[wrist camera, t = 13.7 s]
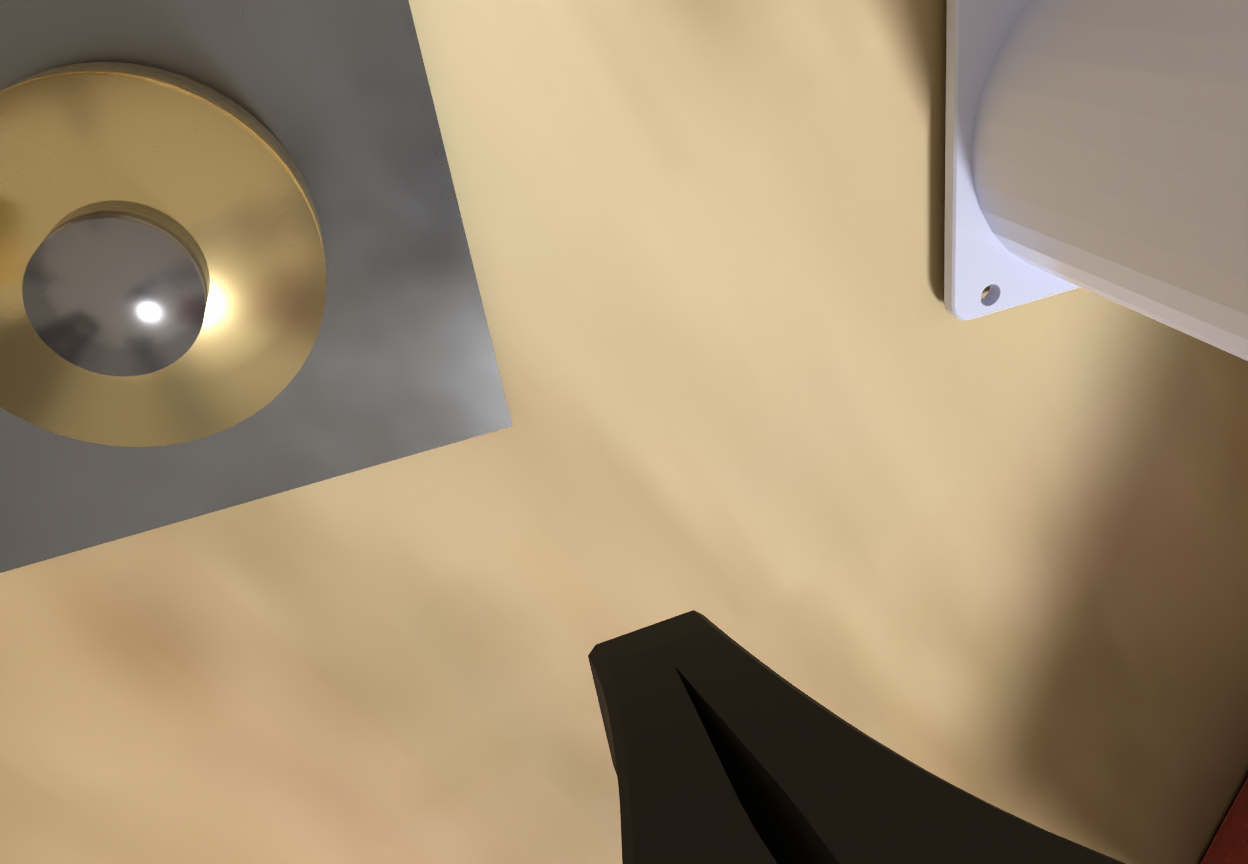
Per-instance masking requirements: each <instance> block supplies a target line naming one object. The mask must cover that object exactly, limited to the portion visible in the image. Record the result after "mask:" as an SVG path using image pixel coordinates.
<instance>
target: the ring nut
mask: <svg viewBox="0 0 1248 864" xmlns="http://www.w3.org/2000/svg"><path fill="white" fill-rule="evenodd" d="M326 288H327V285H326V264H325V256H324V249H323V241H322V235H321V229H320V224H319V218H318V214H317V211H316V208H315V205H314V202H313V199H312V196H311V193H310V191H309V189H308V187H307V185H306V183H305V181H304V179H303V177H302V175H301V173H300V171H299V170H298V168H297V167H296V165H295V163H294V162H293V160H292V159H291V157H290V156H289V154H288V153H287V151H286V150H285V149H284V148H283V147H282V145H281V144H280V143H279V142H278V141H277V139H276V138H275V137H274V136H273V135H272V134H271V133H270V132H269V131H268V130H267V129H266V128H265V127H264V126H263V125H262V124H261V123H260V122H259V121H258V120H257V119H256V118H255V117H254V116H252V115H251V114H250V113H248V112H247V111H246V110H244V109H243V108H242V107H240V106H239V105H238V104H236V103H235V102H234V101H232V100H230V99H229V98H227V97H225V96H224V95H222V94H220V93H218V92H217V91H215V90H213V89H212V88H210V87H208V86H206V85H203V84H201V83H199V82H196V81H194V80H192V79H190V78H187V77H185V76H182V75H179V74H176V73H172V72H169V71H166V70H162V69H159V68H154V67H149V66H143V65H138V64H132V63H118V62H91V63H77V64H72V65H67V66H62V67H57V68H52V69H48V70H46V71H43V72H40V73H37V74H34V75H32V76H29V77H26V78H24V79H22V80H20V81H18V82H16V83H14V84H13V85H11V86H9V87H7V88H5V89H3V90H1V91H0V407H2V408H3V409H5V410H6V411H8V412H9V413H11V414H13V415H15V416H17V417H19V418H21V419H23V420H25V421H27V422H29V423H31V424H33V425H35V426H38V427H40V428H43V429H46V430H48V431H51V432H54V433H56V434H59V435H62V436H66V437H70V438H74V439H77V440H81V441H85V442H91V443H97V444H103V445H110V446H124V447H151V446H165V445H171V444H178V443H184V442H189V441H192V440H196V439H200V438H203V437H207V436H210V435H213V434H215V433H218V432H220V431H223V430H225V429H228V428H230V427H232V426H234V425H236V424H238V423H240V422H241V421H243V420H245V419H247V418H249V417H250V416H252V415H254V414H255V413H256V412H258V411H259V410H260V409H262V408H263V407H264V406H266V405H267V404H269V403H270V402H271V401H272V400H273V399H274V398H275V397H276V396H277V395H278V394H279V393H280V392H281V391H283V390H284V389H285V388H286V387H287V385H288V384H289V383H290V382H291V380H292V379H293V378H294V377H295V375H296V374H297V373H298V371H299V370H300V369H301V367H302V365H303V364H304V362H305V360H306V358H307V357H308V355H309V353H310V352H311V350H312V347H313V345H314V342H315V340H316V337H317V335H318V332H319V329H320V325H321V321H322V317H323V313H324V308H325V298H326Z"/></svg>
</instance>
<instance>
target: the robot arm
mask: <svg viewBox="0 0 1248 864" xmlns="http://www.w3.org/2000/svg"><path fill="white" fill-rule="evenodd" d="M989 285H990V289H989V293H988V294H987V295H986V297H985V298H983V299H980V298H981V294H982V292H983V290H984V289H985V288H986V287H987V286H989ZM1080 287H1081V288H1084V289H1086V290H1088V291H1090V292H1093V293H1095V294H1097V295H1099V296H1102V297H1104V298H1106V299H1108V300H1111V301H1113V302H1115V303H1117V304H1120V305H1122V306H1124V307H1126V308H1129V309H1131V310H1133V311H1136V312H1138V313H1140V314H1142V315H1145V316H1147V317H1149V318H1151V319H1154V320H1156V321H1158V322H1160V323H1163V324H1165V325H1167V326H1169V327H1172V328H1174V329H1176V330H1178V331H1181V332H1183V333H1185V334H1188V335H1190V336H1192V337H1194V338H1197V339H1199V340H1201V341H1203V342H1206V343H1208V344H1210V345H1212V346H1215V347H1217V348H1219V349H1221V350H1224V351H1226V352H1228V353H1230V354H1233V355H1235V356H1237V357H1240V358H1242V359H1244V360H1246V361H1248V0H947V31H946V142H945V252H944V304H945V308H946V310H947V311H948V312H949V314H951V315H953V316H955V317H956V318H959V319H961V320H970V319H974V318H977V317H981V316H984V315H988V314H991V313H994V312H998V311H1001V310H1005V309H1008V308H1012V307H1015V306H1018V305H1022V304H1025V303H1029V302H1032V301H1036V300H1039V299H1042V298H1046V297H1049V296H1053V295H1056V294H1059V293H1063V292H1066V291H1070V290H1073V289H1077V288H1080ZM588 657H589V662H590V666H591V670H592V675H593V679H594V683H595V688H596V692H597V696H598V701H599V705H600V709H601V714H602V718H603V722H604V727H605V731H606V735H607V740H608V744H609V748H610V753H611V757H612V761H613V765H614V768H615V771H616V774H617V776H618V785H619V796H620V813H621V836H622V859H623V864H1125V863H1123V862H1120V861H1118V860H1116V859H1113V858H1111V857H1108V856H1106V855H1104V854H1101V853H1099V852H1096V851H1094V850H1091V849H1089V848H1087V847H1084V846H1082V845H1079V844H1077V843H1074V842H1072V841H1070V840H1067V839H1065V838H1062V837H1060V836H1057V835H1055V834H1053V833H1050V832H1048V831H1046V830H1043V829H1041V828H1039V827H1037V826H1035V825H1033V824H1031V823H1028V822H1026V821H1024V820H1022V819H1020V818H1018V817H1016V816H1014V815H1012V814H1010V813H1007V812H1005V811H1003V810H1001V809H999V808H997V807H995V806H993V805H991V804H989V803H987V802H985V801H983V800H981V799H979V798H977V797H975V796H973V795H971V794H969V793H967V792H966V791H964V790H962V789H960V788H958V787H956V786H954V785H952V784H950V783H948V782H946V781H945V780H943V779H941V778H939V777H937V776H935V775H934V774H932V773H930V772H928V771H926V770H925V769H923V768H921V767H919V766H918V765H916V764H914V763H913V762H911V761H909V760H907V759H906V758H904V757H902V756H901V755H899V754H897V753H896V752H894V751H892V750H891V749H889V748H887V747H886V746H884V745H882V744H881V743H879V742H878V741H876V740H874V739H873V738H871V737H869V736H868V735H866V734H865V733H863V732H861V731H860V730H858V729H857V728H855V727H854V726H852V725H851V724H849V723H847V722H846V721H844V720H843V719H841V718H840V717H838V716H837V715H835V714H834V713H833V712H831V711H830V710H828V709H827V708H825V707H824V706H822V705H821V704H819V703H818V702H816V701H815V700H814V699H812V698H811V697H809V696H808V695H806V694H805V693H803V692H802V691H800V690H799V689H798V688H796V687H795V686H793V685H792V684H791V683H789V682H788V681H786V680H785V679H784V678H782V677H781V676H780V675H778V674H777V673H776V672H774V671H773V670H772V669H770V668H769V667H768V666H766V665H765V664H764V663H762V662H761V661H760V660H758V659H757V658H756V657H754V656H753V655H752V654H750V653H749V652H748V651H747V650H745V649H744V648H743V647H742V646H740V645H739V644H738V643H736V642H735V641H734V640H733V639H731V638H730V637H729V636H728V635H727V634H725V633H724V632H723V631H722V630H720V629H719V628H718V627H717V626H716V625H714V624H713V623H712V622H711V621H710V620H708V619H707V618H706V617H705V616H704V615H702V614H700V613H698V612H696V611H694V610H693V611H690V612H687V613H684V614H682V615H679V616H676V617H673V618H670V619H667V620H665V621H662V622H659V623H656V624H653V625H650V626H648V627H645V628H642V629H639V630H636V631H633V632H631V633H628V634H625V635H622V636H619V637H617V638H614V639H611V640H608V641H605V642H602V643H600V644H597V645H595V647H594V648H593V650H592V651H591V652H590V654H589V655H588Z"/></svg>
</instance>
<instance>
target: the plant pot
mask: <svg viewBox="0 0 1248 864" xmlns="http://www.w3.org/2000/svg"><path fill="white" fill-rule="evenodd" d="M1201 864H1248V777H1247V779H1246V781H1245V783H1244V785H1243V787H1242V788H1241V790H1240V792H1239V794H1238V796H1237V798H1236V799H1235V801H1234V803H1233V805H1232V807H1231V808H1230V810H1229V812H1228V814H1227V816H1226V817H1225V819H1224V821H1223V823H1222V825H1221V827H1220V828H1219V830H1218V832H1217V834H1216V836H1215V838H1214V840H1213V841H1212V843H1211V845H1210V847H1209V849H1208V851H1207V853H1206V854H1205V856H1204V858H1203V860H1202V862H1201Z"/></svg>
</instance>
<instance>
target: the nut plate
mask: <svg viewBox="0 0 1248 864" xmlns="http://www.w3.org/2000/svg"><path fill="white" fill-rule="evenodd" d="M91 62H118V63H132V64H138V65H143V66H149V67H154V68H159V69H162V70H166V71H169V72H172V73H176V74H179V75H182V76H185V77H187V78H190V79H192V80H194V81H196V82H199V83H201V84H203V85H206V86H208V87H210V88H212V89H213V90H215V91H217V92H218V93H220V94H222V95H224V96H225V97H227V98H229V99H230V100H232V101H234V102H235V103H236V104H238V105H239V106H240V107H242V108H243V109H244V110H246V111H247V112H248V113H250V114H251V115H252V116H254V117H255V118H256V119H257V120H258V121H259V122H260V123H261V124H262V125H263V126H264V127H265V128H266V129H267V130H268V131H269V132H270V133H271V134H272V135H273V136H274V137H275V138H276V139H277V141H278V142H279V143H280V144H281V145H282V147H283V148H284V149H285V150H286V151H287V153H288V154H289V156H290V157H291V159H292V160H293V162H294V163H295V165H296V167H297V168H298V170H299V171H300V173H301V175H302V177H303V179H304V181H305V183H306V185H307V187H308V189H309V191H310V193H311V196H312V199H313V202H314V205H315V208H316V211H317V214H318V218H319V224H320V229H321V235H322V241H323V249H324V256H325V264H326V285H327V288H326V298H325V308H324V313H323V317H322V321H321V325H320V329H319V332H318V335H317V337H316V340H315V342H314V345H313V347H312V350H311V352H310V353H309V355H308V357H307V358H306V360H305V362H304V364H303V365H302V367H301V369H300V370H299V371H298V373H297V374H296V375H295V377H294V378H293V379H292V380H291V382H290V383H289V384H288V385H287V387H286V388H285V389H284V390H283V391H281V392H280V393H279V394H278V395H277V396H276V397H275V398H274V399H273V400H272V401H271V402H270V403H269V404H267V405H266V406H264V407H263V408H262V409H260V410H259V411H258V412H256V413H255V414H254V415H252V416H250V417H249V418H247V419H245V420H243V421H241V422H240V423H238V424H236V425H234V426H232V427H230V428H228V429H225V430H223V431H220V432H218V433H215V434H213V435H210V436H207V437H203V438H200V439H196V440H192V441H189V442H184V443H178V444H171V445H165V446H151V447H124V446H110V445H103V444H97V443H91V442H85V441H81V440H77V439H74V438H70V437H66V436H62V435H59V434H56V433H54V432H51V431H48V430H46V429H43V428H40V427H38V426H35V425H33V424H31V423H29V422H27V421H25V420H23V419H21V418H19V417H17V416H15V415H13V414H11V413H9V412H8V411H6V410H5V409H3V408H2V407H0V573H1V572H5V571H8V570H12V569H15V568H19V567H22V566H26V565H29V564H33V563H36V562H40V561H43V560H47V559H50V558H54V557H57V556H61V555H64V554H68V553H71V552H75V551H78V550H82V549H85V548H89V547H92V546H96V545H99V544H103V543H106V542H110V541H113V540H117V539H120V538H124V537H127V536H131V535H134V534H138V533H141V532H144V531H148V530H151V529H155V528H158V527H162V526H165V525H169V524H172V523H176V522H179V521H183V520H186V519H190V518H193V517H197V516H200V515H204V514H207V513H211V512H214V511H218V510H221V509H225V508H228V507H232V506H235V505H239V504H242V503H246V502H249V501H253V500H256V499H260V498H263V497H267V496H270V495H274V494H277V493H281V492H284V491H288V490H291V489H295V488H298V487H301V486H305V485H308V484H312V483H315V482H319V481H322V480H326V479H329V478H333V477H336V476H340V475H343V474H347V473H350V472H354V471H357V470H361V469H364V468H368V467H371V466H375V465H378V464H382V463H385V462H389V461H392V460H396V459H399V458H403V457H406V456H410V455H413V454H417V453H420V452H424V451H427V450H431V449H434V448H438V447H441V446H445V445H448V444H451V443H455V442H458V441H462V440H465V439H469V438H472V437H476V436H479V435H483V434H486V433H490V432H493V431H497V430H500V429H504V428H507V427H511V426H512V423H511V419H510V415H509V411H508V407H507V403H506V399H505V395H504V391H503V386H502V382H501V378H500V374H499V370H498V366H497V362H496V358H495V354H494V350H493V346H492V341H491V337H490V333H489V329H488V325H487V321H486V317H485V313H484V309H483V305H482V300H481V296H480V292H479V288H478V284H477V280H476V276H475V272H474V268H473V264H472V259H471V255H470V251H469V247H468V243H467V239H466V235H465V231H464V227H463V223H462V219H461V214H460V210H459V206H458V202H457V198H456V194H455V190H454V186H453V182H452V178H451V173H450V169H449V165H448V161H447V157H446V153H445V149H444V145H443V141H442V137H441V133H440V128H439V124H438V120H437V116H436V112H435V108H434V104H433V100H432V96H431V92H430V87H429V83H428V79H427V75H426V71H425V67H424V63H423V59H422V55H421V51H420V47H419V42H418V38H417V34H416V30H415V26H414V22H413V18H412V14H411V10H410V6H409V1H408V0H0V91H1V90H3V89H5V88H7V87H9V86H11V85H13V84H14V83H16V82H18V81H20V80H22V79H24V78H26V77H29V76H32V75H34V74H37V73H40V72H43V71H46V70H48V69H52V68H57V67H62V66H67V65H72V64H77V63H91Z"/></svg>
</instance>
